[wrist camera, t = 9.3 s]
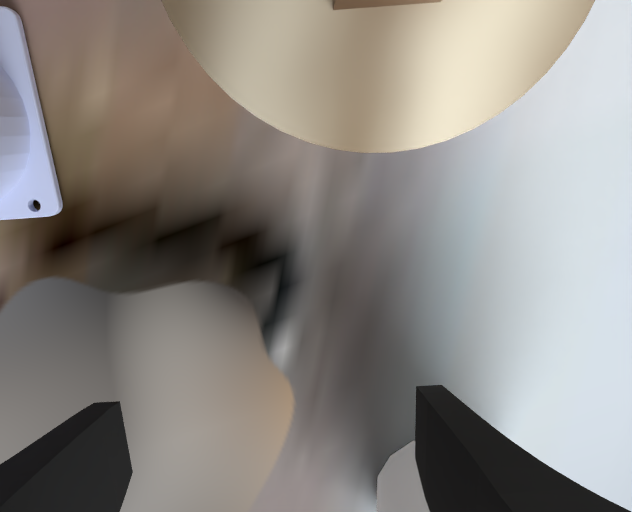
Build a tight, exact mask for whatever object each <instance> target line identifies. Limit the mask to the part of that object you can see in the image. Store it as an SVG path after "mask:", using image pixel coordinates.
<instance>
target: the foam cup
mask: <svg viewBox="0 0 632 512" xmlns="http://www.w3.org/2000/svg"><path fill="white" fill-rule="evenodd" d="M377 512H430V510H429V508H428V505H427V502H426V499H425V496H424V492H423V488H422V484H421V481H420V476H419V472H418V468H417V464H416V460H415V441H412V442H410V443H409V444H407V445H406V446H404V447H403V448H401V449H400V450H398V451H397V452H395V453H394V454H392V455H391V456H390V457H389V459H388V460H387V462H386V464H385V465H384V467H383V468H382V470H381V472H380V473H379V475H378V477H377Z"/></svg>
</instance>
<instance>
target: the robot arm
mask: <svg viewBox="0 0 632 512" xmlns="http://www.w3.org/2000/svg"><path fill="white" fill-rule="evenodd" d="M34 200H37V201H38V202H39V203H40V205H41V209H40V210H37V209H36V208H35V207H34V205H33V201H34ZM62 207H63V204H62V198H61V194H60V189H59V185H58V180H57V176H56V172H55V167H54V163H53V158H52V154H51V149H50V145H49V140H48V136H47V131H46V127H45V123H44V118H43V114H42V109H41V105H40V100H39V96H38V91H37V87H36V82H35V78H34V74H33V69H32V65H31V60H30V56H29V51H28V47H27V42H26V38H25V34H24V29H23V25H22V21H21V18H20V16H19V15H18V14H17V12H16V11H14V10H12V9H10V8H8V7H5V6H0V220H7V219H21V218H34V217H47V216H53V215H56V214H58V213H59V212H60V211H61V210H62ZM415 460H416V464H417V468H418V472H419V476H420V481H421V484H422V488H423V492H424V496H425V499H426V502H427V505H428V508H429V510H430V512H631V511H629V510H627V509H625V508H623V507H621V506H619V505H617V504H615V503H613V502H611V501H609V500H607V499H605V498H603V497H601V496H599V495H597V494H595V493H594V492H592V491H590V490H588V489H586V488H584V487H583V486H581V485H579V484H578V483H576V482H574V481H572V480H571V479H569V478H567V477H566V476H564V475H562V474H561V473H559V472H557V471H556V470H554V469H552V468H551V467H549V466H548V465H546V464H544V463H543V462H541V461H540V460H538V459H537V458H535V457H534V456H532V455H531V454H530V453H528V452H527V451H525V450H524V449H522V448H521V447H519V446H518V445H517V444H515V443H514V442H512V441H511V440H510V439H508V438H507V437H506V436H504V435H503V434H502V433H500V432H499V431H498V430H496V429H495V428H494V427H492V426H491V425H490V424H489V423H487V422H486V421H485V420H484V419H482V418H481V417H480V416H479V415H477V414H476V413H475V412H474V411H472V410H471V409H470V408H469V407H468V406H466V405H465V404H464V403H463V402H462V401H460V400H459V399H458V398H457V397H456V396H454V395H453V394H452V393H451V392H450V391H448V390H447V389H446V388H444V387H443V386H442V385H433V386H416V431H415ZM131 476H132V467H131V461H130V455H129V450H128V444H127V439H126V433H125V428H124V422H123V417H122V411H121V406H120V402H100V403H93V404H92V405H90V406H88V407H86V408H85V409H83V410H81V411H80V412H78V413H77V414H75V415H74V416H72V417H71V418H69V419H68V420H66V421H65V422H63V423H62V424H61V425H59V426H57V427H56V428H54V429H53V430H52V431H50V432H49V433H47V434H46V435H44V436H43V437H41V438H40V439H38V440H37V441H35V442H34V443H32V444H31V445H29V446H28V447H27V448H25V449H23V450H22V451H20V452H19V453H17V454H16V455H14V456H13V457H11V458H10V459H8V460H7V461H5V462H4V463H2V464H0V512H119V511H120V509H121V506H122V503H123V500H124V497H125V495H126V491H127V488H128V485H129V482H130V479H131Z"/></svg>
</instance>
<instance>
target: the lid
mask: <svg viewBox="0 0 632 512" xmlns="http://www.w3.org/2000/svg"><path fill="white" fill-rule="evenodd" d="M161 1H162V3H163V5H164V7H165V9H166V11H167V14H168V16H169V18H170V20H171V22H172V24H173V25H174V27H175V29H176V30H177V32H178V33H179V35H180V37H181V38H182V40H183V42H184V43H185V45H186V46H187V48H188V50H189V51H190V52H191V54H192V55H193V56H194V57H195V59H196V60H197V61H198V63H199V64H200V65H201V66H202V68H203V69H204V70H205V71H206V73H207V74H208V75H209V76H210V77H211V78H212V79H213V80H214V81H215V82H216V83H217V84H218V85H219V86H220V87H221V88H222V89H223V90H224V91H225V92H226V93H227V94H228V95H229V96H230V97H231V98H232V99H233V100H235V101H236V102H237V103H239V104H240V105H241V106H243V107H244V108H245V109H247V110H248V111H249V112H250V113H252V114H253V115H254V116H256V117H257V118H259V119H261V120H263V121H264V122H266V123H268V124H270V125H271V126H273V127H275V128H277V129H278V130H280V131H282V132H284V133H287V134H289V135H292V136H294V137H296V138H299V139H301V140H304V141H306V142H309V143H313V144H317V145H320V146H324V147H328V148H332V149H336V150H344V151H352V152H360V153H391V152H398V151H405V150H412V149H419V148H422V147H426V146H429V145H433V144H437V143H440V142H444V141H447V140H449V139H451V138H454V137H456V136H458V135H461V134H463V133H466V132H468V131H470V130H473V129H474V128H476V127H478V126H479V125H481V124H483V123H485V122H486V121H488V120H490V119H491V118H493V117H495V116H497V115H498V114H500V113H501V112H502V111H504V110H505V109H506V108H508V107H509V106H510V105H512V104H513V103H514V102H515V101H517V100H518V99H519V98H521V97H522V96H523V95H524V94H525V93H526V92H527V91H528V90H529V89H531V88H532V87H533V86H534V85H535V84H536V83H537V82H538V81H539V80H540V79H541V78H542V77H543V76H544V75H545V74H546V73H547V72H548V70H549V69H550V68H551V67H552V66H553V64H554V63H555V62H556V61H557V60H558V58H559V57H560V56H561V55H562V53H563V52H564V51H565V50H566V49H567V47H568V45H569V44H570V42H571V41H572V39H573V38H574V36H575V35H576V33H577V32H578V30H579V29H580V27H581V26H582V24H583V23H584V21H585V19H586V17H587V15H588V13H589V11H590V9H591V7H592V5H593V3H594V1H595V0H161Z"/></svg>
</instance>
